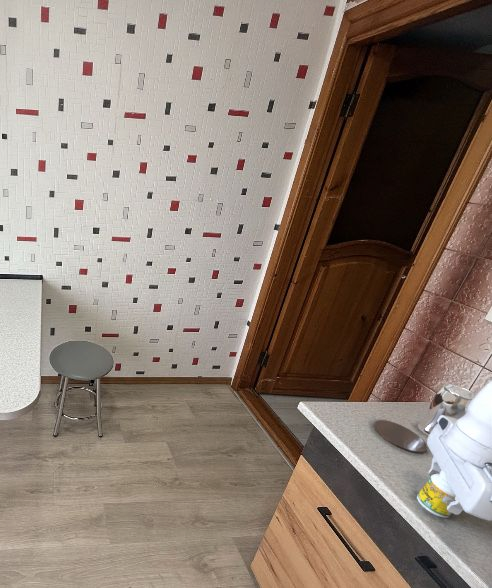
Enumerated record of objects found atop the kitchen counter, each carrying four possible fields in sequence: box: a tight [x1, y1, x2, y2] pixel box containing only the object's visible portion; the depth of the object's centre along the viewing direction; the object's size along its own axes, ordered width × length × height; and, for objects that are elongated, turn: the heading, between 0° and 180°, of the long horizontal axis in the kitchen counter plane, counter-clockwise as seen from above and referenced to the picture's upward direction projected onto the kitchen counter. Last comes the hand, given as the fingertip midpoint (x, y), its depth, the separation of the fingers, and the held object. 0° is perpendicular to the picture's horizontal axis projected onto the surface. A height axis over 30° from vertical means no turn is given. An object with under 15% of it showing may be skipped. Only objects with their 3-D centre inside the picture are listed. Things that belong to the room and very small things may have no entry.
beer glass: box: [417, 382, 476, 437], centre depth 92 cm, size 7×7×15 cm
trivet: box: [373, 419, 428, 454], centre depth 92 cm, size 11×11×1 cm
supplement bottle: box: [416, 470, 456, 519], centre depth 71 cm, size 5×5×10 cm
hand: (441, 492), depth 72 cm, fingers open, 7 cm apart
